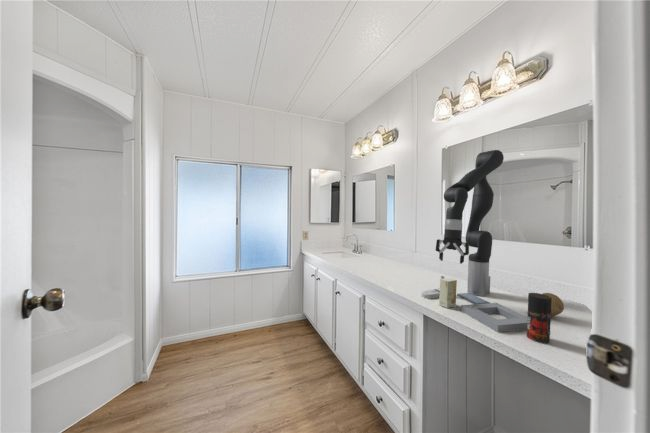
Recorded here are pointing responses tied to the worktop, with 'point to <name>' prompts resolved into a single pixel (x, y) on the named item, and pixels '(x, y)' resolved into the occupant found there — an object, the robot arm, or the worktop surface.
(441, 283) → the skincare box
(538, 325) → the deodorant
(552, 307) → the natural sponge
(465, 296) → the plate
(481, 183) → the robot arm
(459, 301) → the worktop surface
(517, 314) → the plate
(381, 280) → the worktop surface
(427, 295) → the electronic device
